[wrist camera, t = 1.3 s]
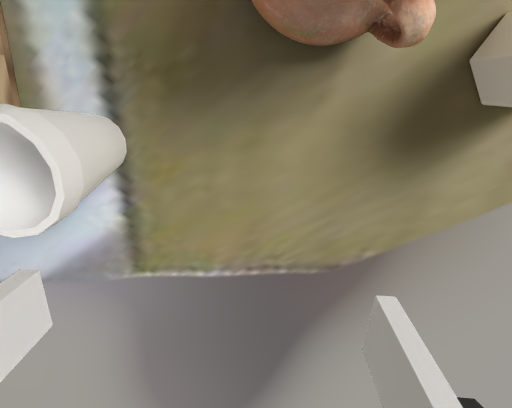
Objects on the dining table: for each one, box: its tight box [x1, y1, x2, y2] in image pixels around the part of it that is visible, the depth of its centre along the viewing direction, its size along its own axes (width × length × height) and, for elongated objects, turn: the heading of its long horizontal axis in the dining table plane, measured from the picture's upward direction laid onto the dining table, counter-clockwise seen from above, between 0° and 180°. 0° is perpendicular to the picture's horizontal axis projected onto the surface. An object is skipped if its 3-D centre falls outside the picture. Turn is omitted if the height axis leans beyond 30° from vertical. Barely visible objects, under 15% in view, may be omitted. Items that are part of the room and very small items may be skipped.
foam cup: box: [0, 104, 127, 238], centre depth 26 cm, size 10×9×13 cm
